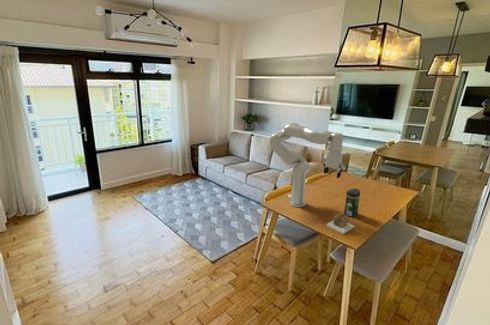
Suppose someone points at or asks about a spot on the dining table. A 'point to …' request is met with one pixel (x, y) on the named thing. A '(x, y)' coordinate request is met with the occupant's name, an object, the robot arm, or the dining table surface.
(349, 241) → the dining table surface
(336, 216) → the walnut cube
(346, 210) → the coffee jar
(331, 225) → the plate
